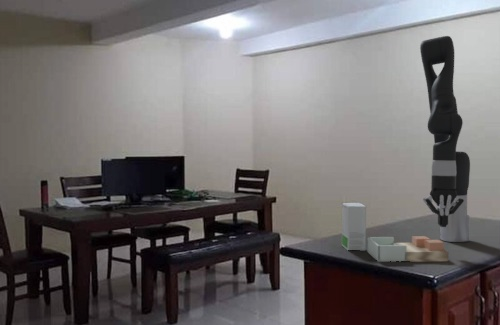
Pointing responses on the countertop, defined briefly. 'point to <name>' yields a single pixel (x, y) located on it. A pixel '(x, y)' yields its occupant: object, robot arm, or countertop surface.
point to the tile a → (419, 240)
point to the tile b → (434, 245)
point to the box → (386, 249)
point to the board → (423, 254)
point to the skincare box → (353, 226)
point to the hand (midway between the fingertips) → (442, 226)
